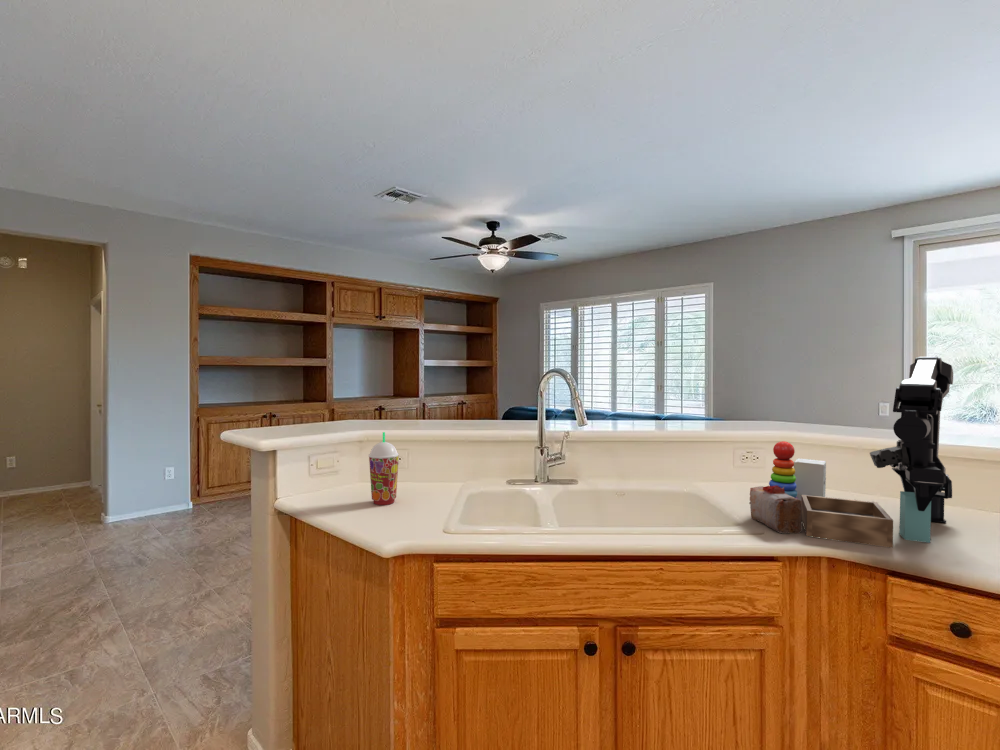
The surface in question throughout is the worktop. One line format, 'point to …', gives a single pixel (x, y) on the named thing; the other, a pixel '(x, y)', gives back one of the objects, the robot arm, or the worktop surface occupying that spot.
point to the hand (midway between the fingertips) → (915, 505)
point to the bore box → (847, 520)
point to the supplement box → (810, 477)
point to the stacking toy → (784, 468)
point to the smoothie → (383, 472)
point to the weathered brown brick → (776, 509)
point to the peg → (914, 519)
